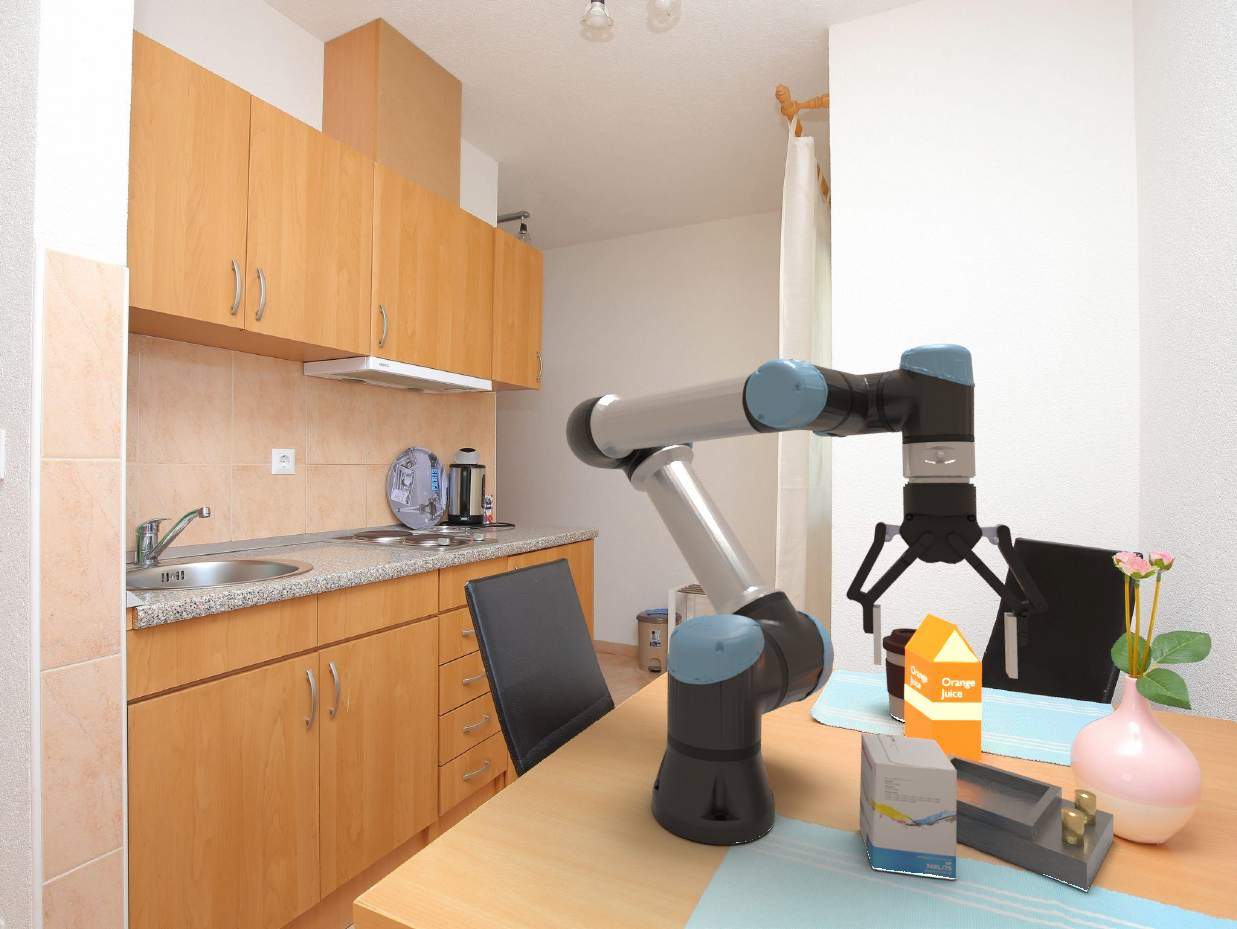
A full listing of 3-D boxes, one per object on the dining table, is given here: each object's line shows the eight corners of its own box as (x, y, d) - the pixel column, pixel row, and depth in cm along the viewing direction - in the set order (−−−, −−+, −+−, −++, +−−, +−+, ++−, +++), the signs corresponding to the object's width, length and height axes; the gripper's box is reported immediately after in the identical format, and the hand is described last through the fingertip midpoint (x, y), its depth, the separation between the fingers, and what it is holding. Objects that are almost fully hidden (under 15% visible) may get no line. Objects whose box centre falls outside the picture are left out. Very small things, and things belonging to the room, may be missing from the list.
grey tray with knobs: (891, 815, 80) (892, 766, 80) (934, 779, 90) (935, 736, 90) (1086, 892, 66) (1087, 833, 66) (1113, 840, 76) (1113, 788, 76)
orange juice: (950, 736, 105) (951, 613, 106) (982, 760, 97) (983, 626, 97) (902, 736, 105) (904, 613, 105) (930, 760, 96) (932, 625, 97)
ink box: (957, 882, 67) (958, 770, 67) (871, 871, 69) (872, 761, 69) (934, 837, 76) (935, 737, 76) (858, 828, 77) (859, 730, 77)
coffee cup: (873, 718, 112) (874, 632, 112) (892, 704, 120) (893, 623, 120) (935, 734, 106) (935, 643, 106) (950, 718, 113) (951, 632, 114)
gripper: (821, 481, 76) (824, 664, 75) (1077, 480, 66) (1083, 691, 65) (828, 482, 82) (830, 649, 82) (1060, 480, 73) (1065, 671, 72)
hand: (942, 668), depth 73 cm, fingers open, 13 cm apart
